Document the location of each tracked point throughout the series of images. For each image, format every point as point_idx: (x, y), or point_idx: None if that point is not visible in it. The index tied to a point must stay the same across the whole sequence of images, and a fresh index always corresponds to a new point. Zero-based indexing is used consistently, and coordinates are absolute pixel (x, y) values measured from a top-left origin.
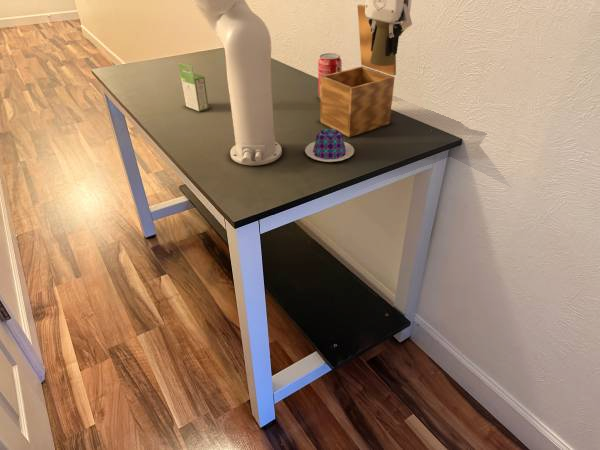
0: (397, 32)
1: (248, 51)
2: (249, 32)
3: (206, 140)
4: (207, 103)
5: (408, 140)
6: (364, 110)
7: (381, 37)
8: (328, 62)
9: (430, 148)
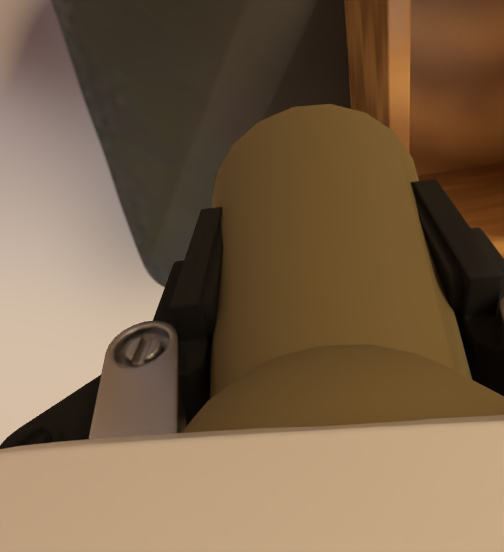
0: (59, 404)
1: None
2: None
3: None
4: None
5: (204, 165)
6: (361, 58)
7: (265, 267)
8: None
9: (125, 190)
